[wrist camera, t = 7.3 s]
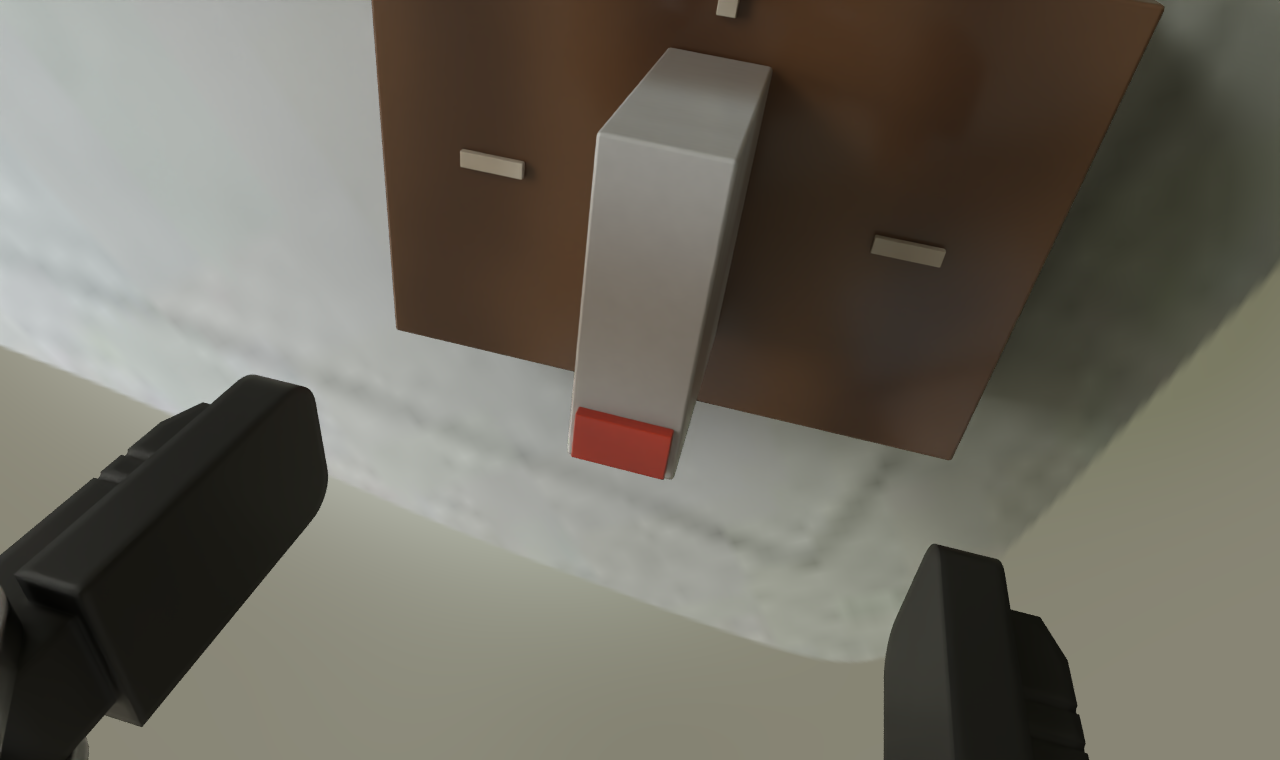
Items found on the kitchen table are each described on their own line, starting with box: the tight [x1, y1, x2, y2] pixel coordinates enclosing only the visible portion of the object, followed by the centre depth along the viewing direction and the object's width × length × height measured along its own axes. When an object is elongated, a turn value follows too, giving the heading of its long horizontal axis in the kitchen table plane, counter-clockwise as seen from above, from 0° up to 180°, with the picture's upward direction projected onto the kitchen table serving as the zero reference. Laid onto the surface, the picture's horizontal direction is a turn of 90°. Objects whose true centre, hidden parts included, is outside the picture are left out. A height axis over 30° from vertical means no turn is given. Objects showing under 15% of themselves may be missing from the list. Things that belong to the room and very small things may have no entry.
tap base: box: [372, 0, 1164, 460], centre depth 18 cm, size 14×10×3 cm
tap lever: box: [567, 48, 773, 480], centre depth 15 cm, size 6×2×5 cm, turn 172°
